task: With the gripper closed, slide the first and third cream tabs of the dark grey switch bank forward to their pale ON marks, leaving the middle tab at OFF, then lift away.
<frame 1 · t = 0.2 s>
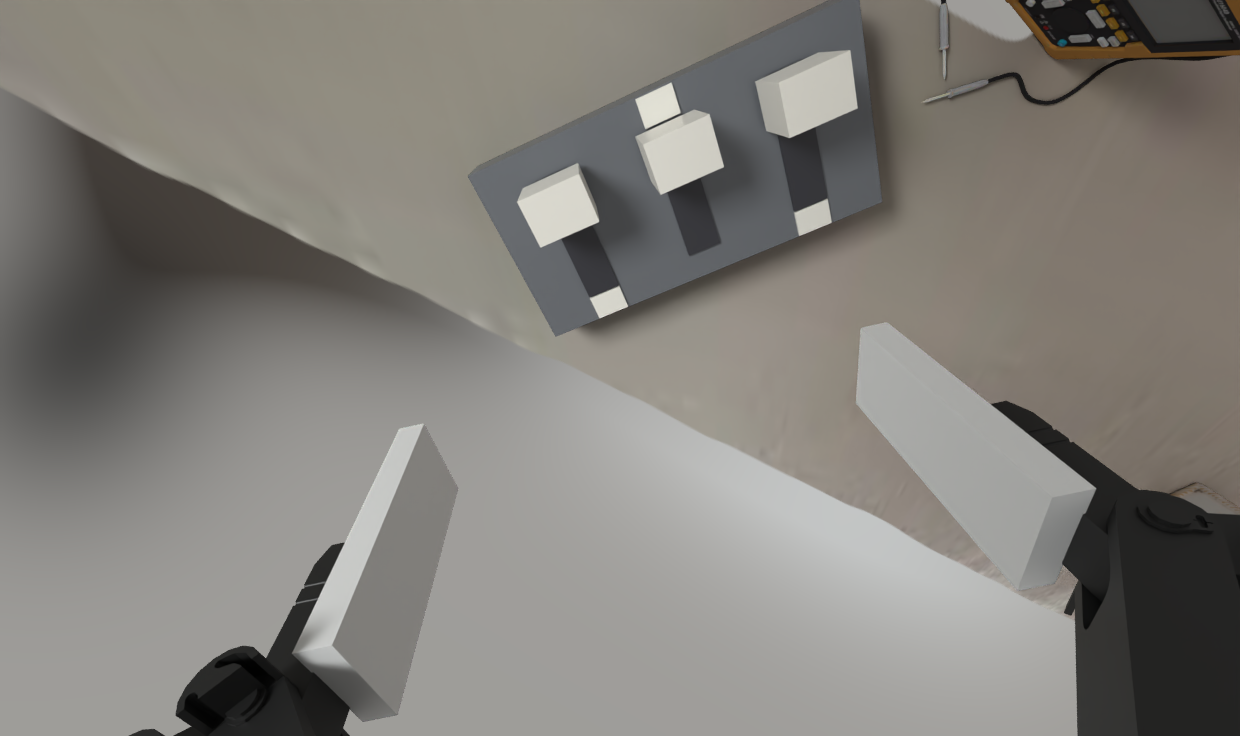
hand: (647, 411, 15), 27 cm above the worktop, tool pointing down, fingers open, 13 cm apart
tab 1: (559, 204, 31), point 6 cm above the worktop, slide at 0.0 cm
switch bank: (674, 178, 37), on the worktop
multimeter: (994, 59, 35), on the worktop
decorative jar: (1151, 523, 65), on the worktop
tab 3: (804, 94, 29), point 6 cm above the worktop, slide at 0.0 cm
tab 2: (677, 151, 30), point 7 cm above the worktop, slide at 0.0 cm
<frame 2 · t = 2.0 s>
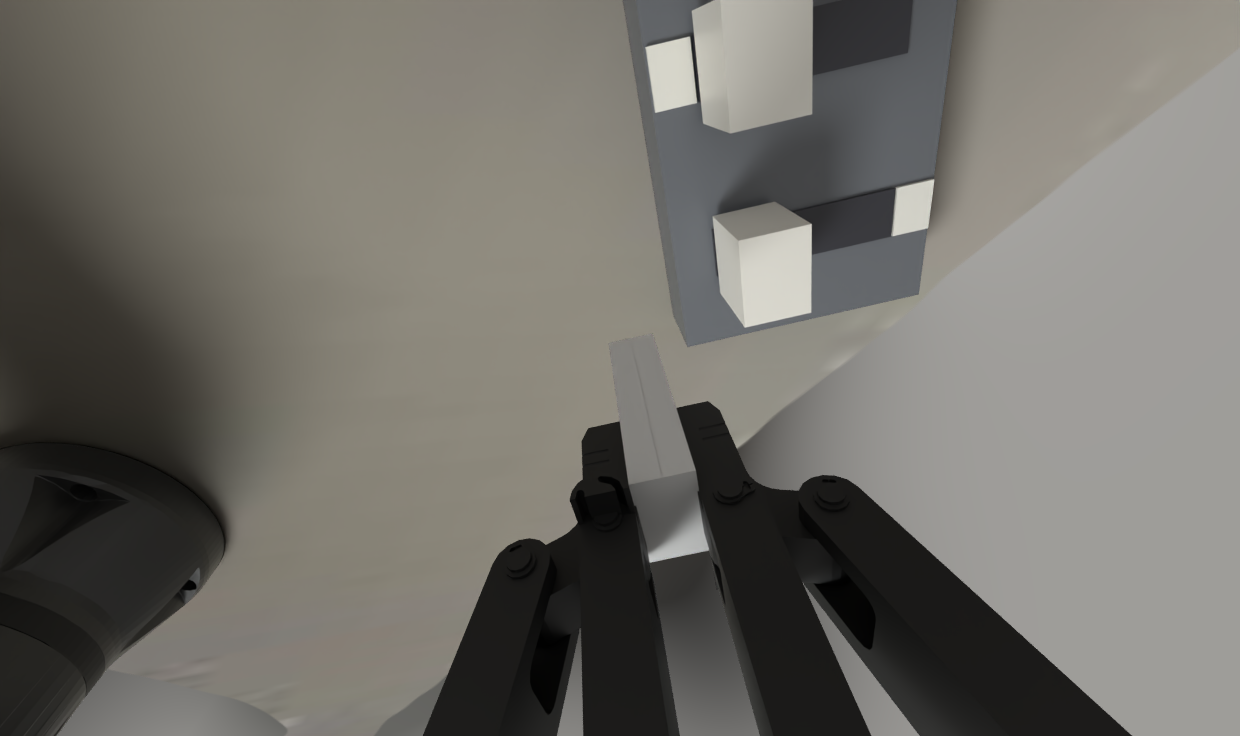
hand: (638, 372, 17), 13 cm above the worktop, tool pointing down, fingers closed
tab 1: (760, 262, 22), point 6 cm above the worktop, slide at 0.0 cm
switch bank: (766, 48, 24), on the worktop
tab 2: (749, 60, 18), point 6 cm above the worktop, slide at 0.0 cm
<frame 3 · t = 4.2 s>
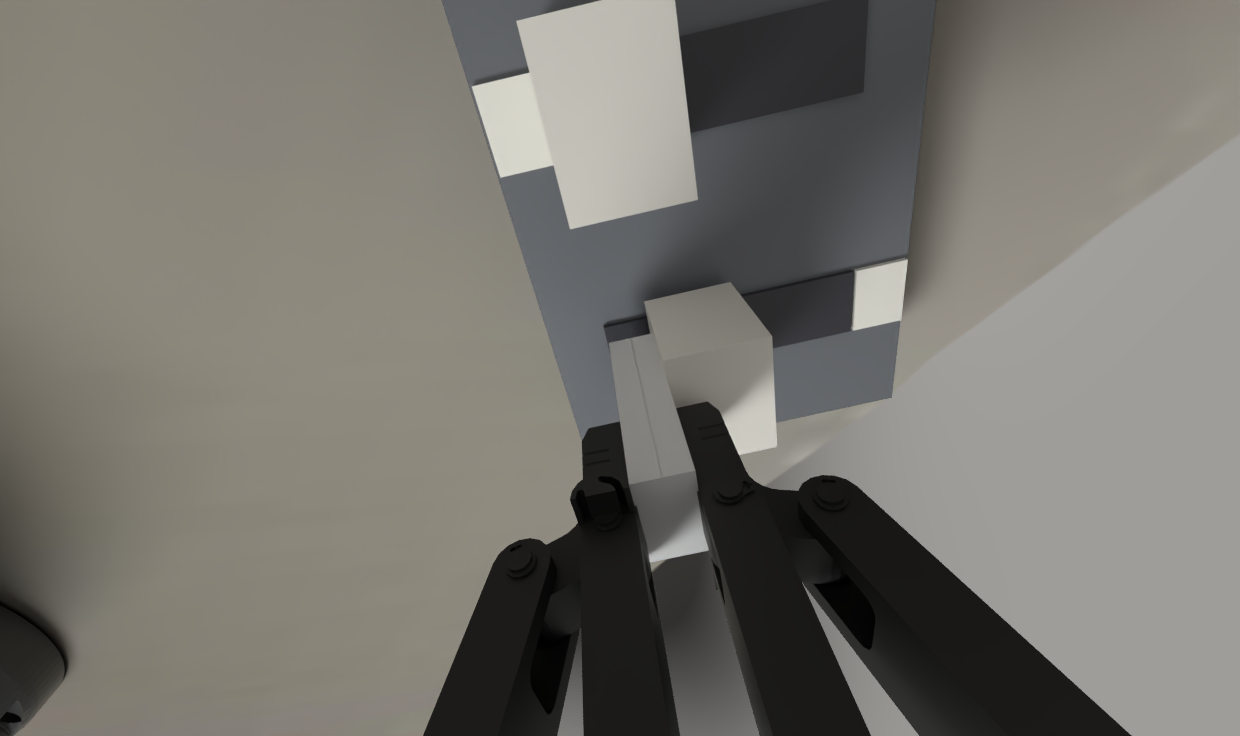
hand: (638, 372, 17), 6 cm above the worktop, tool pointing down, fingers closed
tab 1: (707, 370, 16), point 6 cm above the worktop, slide at 1.6 cm, touching gripper
switch bank: (678, 79, 17), on the worktop
tab 2: (609, 112, 12), point 7 cm above the worktop, slide at 0.0 cm
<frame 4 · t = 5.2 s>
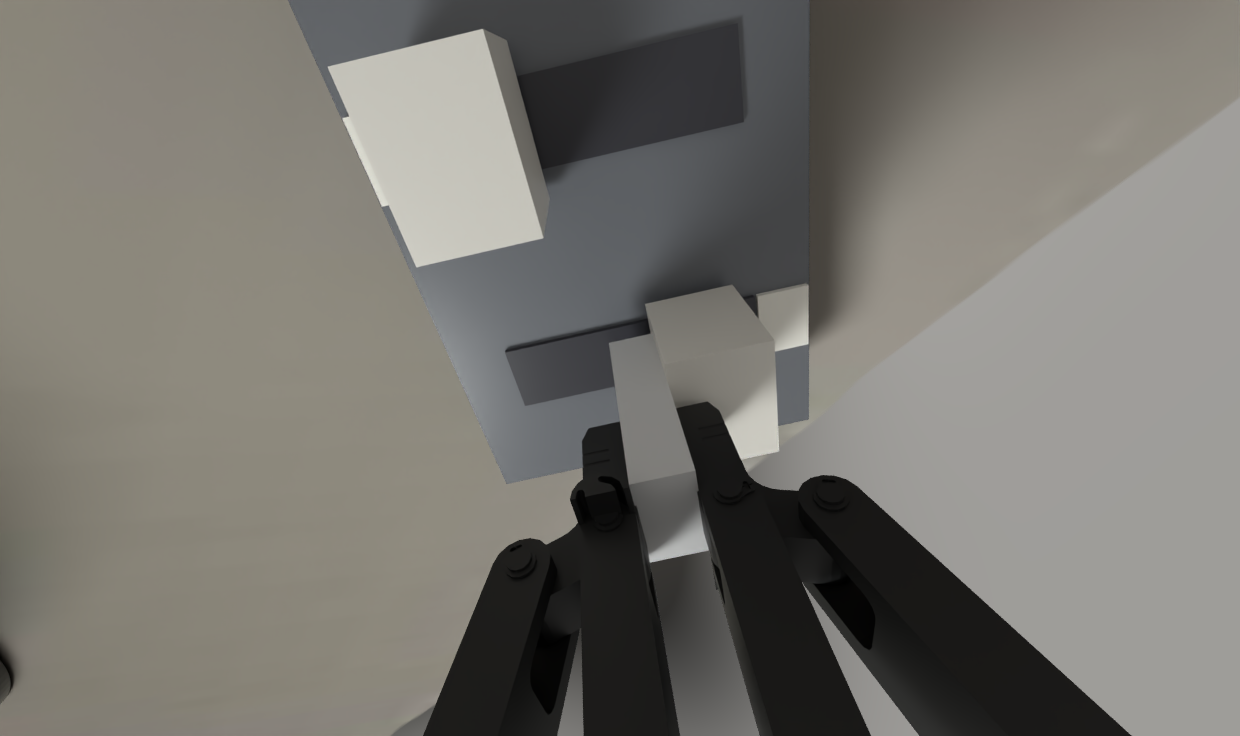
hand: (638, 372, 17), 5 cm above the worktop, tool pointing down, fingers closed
tab 1: (709, 374, 16), point 6 cm above the worktop, slide at 5.2 cm, touching gripper
switch bank: (580, 103, 17), on the worktop
tab 2: (463, 147, 12), point 7 cm above the worktop, slide at 0.0 cm
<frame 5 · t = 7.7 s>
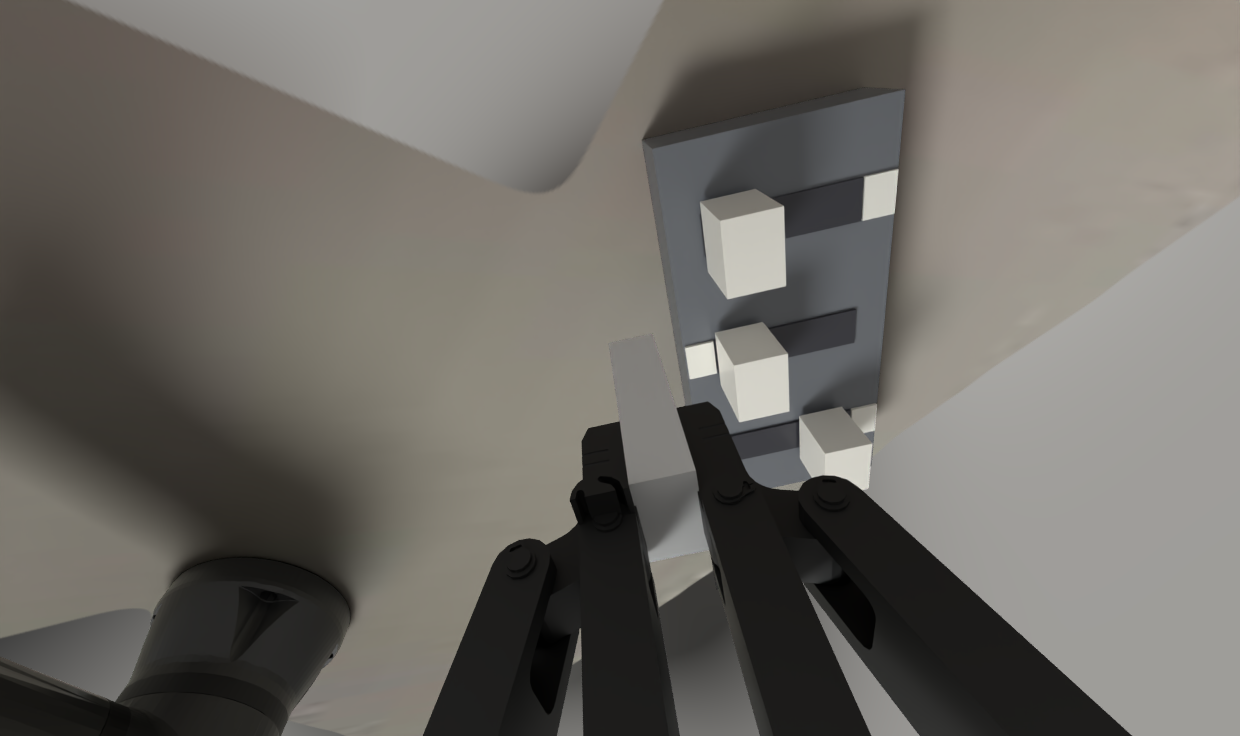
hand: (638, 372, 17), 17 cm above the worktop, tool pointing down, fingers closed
tab 1: (833, 451, 34), point 7 cm above the worktop, slide at 5.2 cm
switch bank: (763, 314, 35), on the worktop
tab 3: (741, 242, 25), point 7 cm above the worktop, slide at 0.0 cm
tab 2: (751, 371, 29), point 7 cm above the worktop, slide at 0.0 cm
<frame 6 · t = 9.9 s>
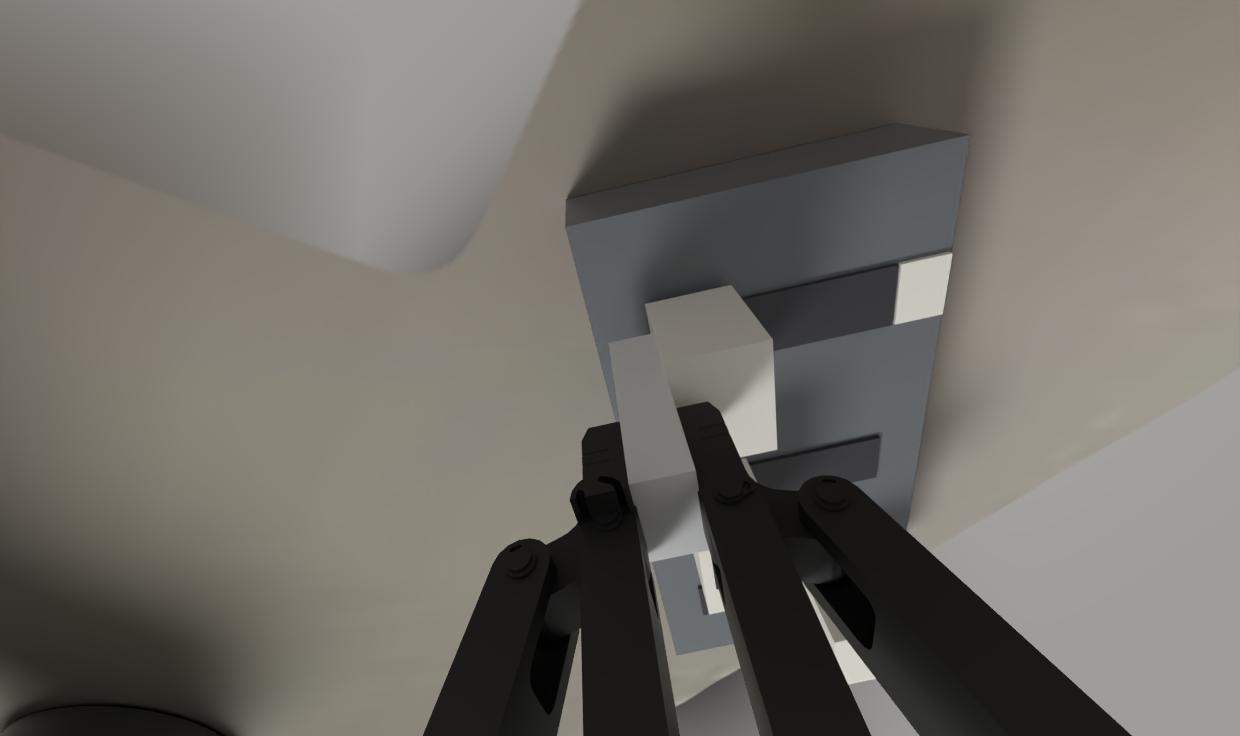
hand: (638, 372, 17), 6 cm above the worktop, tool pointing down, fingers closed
tab 1: (844, 618, 24), point 6 cm above the worktop, slide at 5.2 cm
switch bank: (750, 422, 26), on the worktop
tab 3: (708, 373, 16), point 6 cm above the worktop, slide at 0.0 cm, touching gripper
tab 2: (728, 533, 20), point 7 cm above the worktop, slide at 0.0 cm
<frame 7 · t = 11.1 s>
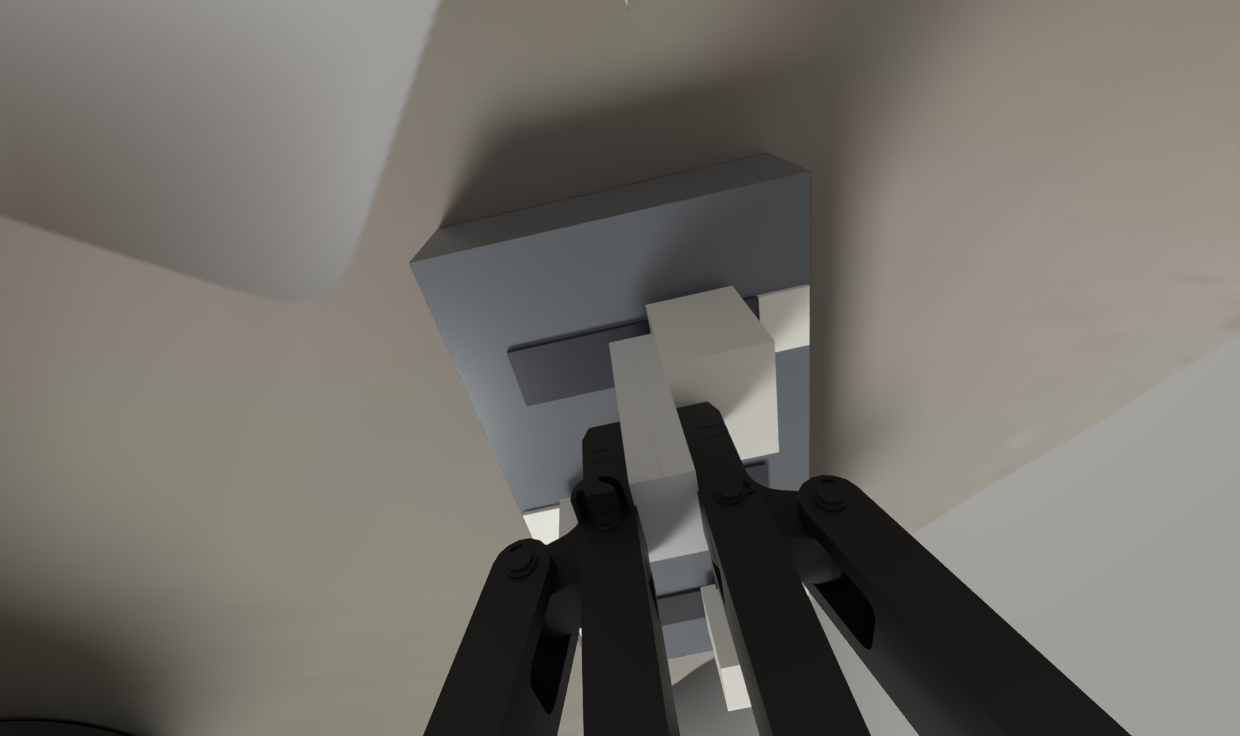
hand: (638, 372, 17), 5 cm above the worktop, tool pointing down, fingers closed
tab 1: (743, 641, 24), point 6 cm above the worktop, slide at 5.2 cm
switch bank: (654, 444, 26), on the worktop
tab 3: (709, 375, 16), point 6 cm above the worktop, slide at 5.1 cm, touching gripper
tab 2: (606, 561, 20), point 6 cm above the worktop, slide at 0.0 cm
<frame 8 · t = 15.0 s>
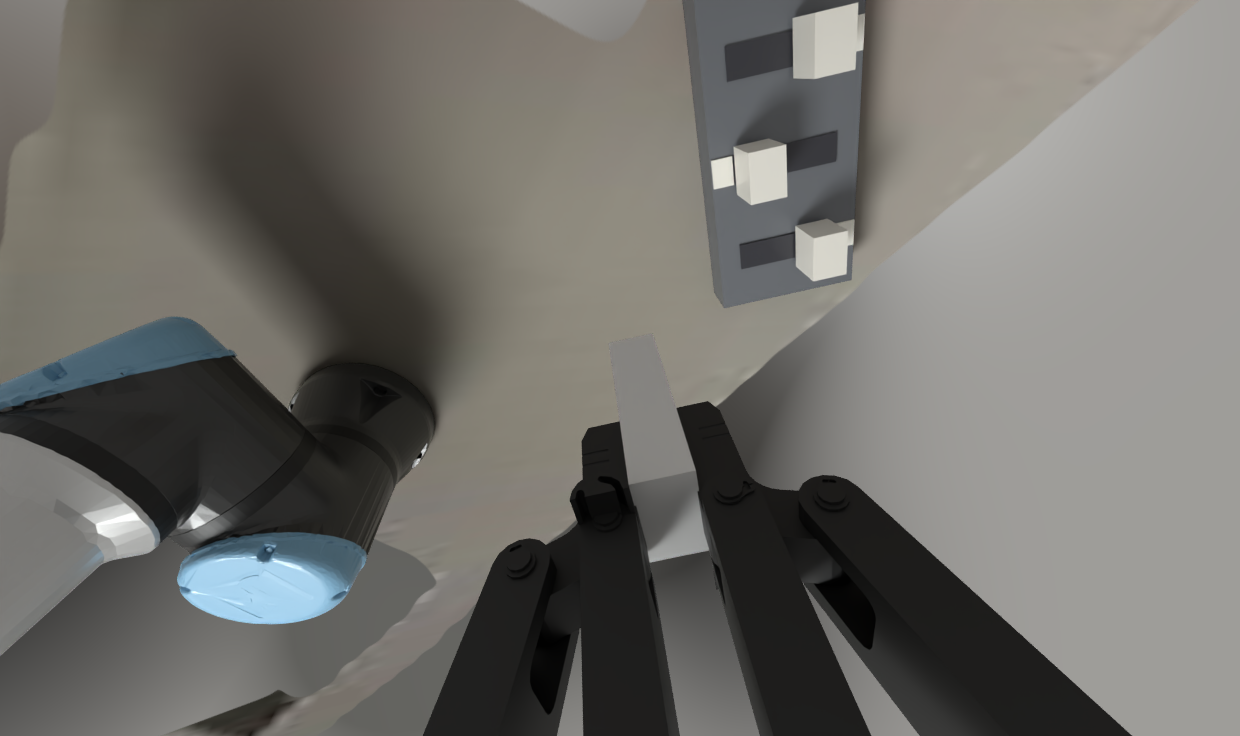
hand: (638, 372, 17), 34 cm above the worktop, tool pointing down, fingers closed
tab 1: (820, 249, 45), point 7 cm above the worktop, slide at 5.2 cm
switch bank: (768, 152, 46), on the worktop
tab 3: (823, 43, 36), point 7 cm above the worktop, slide at 5.2 cm
tab 2: (759, 171, 41), point 7 cm above the worktop, slide at 0.0 cm
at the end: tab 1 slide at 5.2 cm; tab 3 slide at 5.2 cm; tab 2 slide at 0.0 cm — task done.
